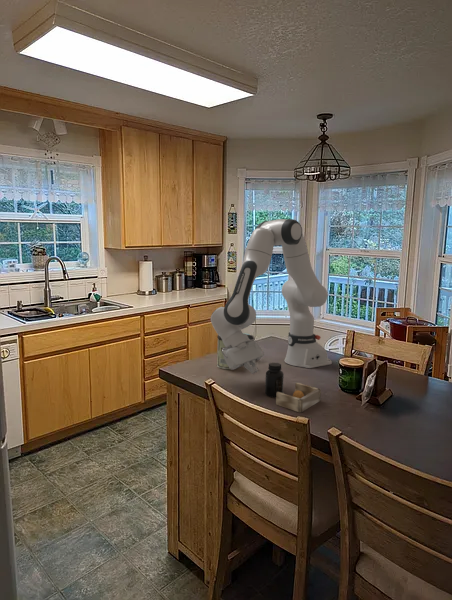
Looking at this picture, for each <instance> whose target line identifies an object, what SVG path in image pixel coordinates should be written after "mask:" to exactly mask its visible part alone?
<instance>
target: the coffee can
mask: <svg viewBox="0 0 452 600" xmlns="http://www.w3.org/2000/svg"><path fill="white" fill-rule="evenodd" d="M224 347H226V346H225V345H224V343H223V341H222V338H221V337H220V336H219V335H218V334H217V352H216V353H217V356H216V357H217V360H216V362H217V363H216V364H217V365H216V366H217V367H218V368H219V369H222V370H231V369H230V368H229V367H228V365H227V363H226V361H225V359H224V355H223V354H222V349H223V348H224Z"/></svg>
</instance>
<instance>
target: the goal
mask: <svg viewBox="0 0 452 600" xmlns="http://www.w3.org/2000/svg"><path fill="white" fill-rule="evenodd" d="M297 390H299V391H302V392H303V394H304V397H302V398H297V397H293V395H290V394H286V393H284V392H283V393H281V392H277V393H276V397H275V405H276V406H280V407H283V408H285V409H289V410H291V411H294V412H296V413H297V412H298V413H303V412H305V411H306V410H308V409H309V408H311V407H312V406H314V405H316V404H317V403H320V401H321V397H322V396H321V395H322V394H321V393H322V388H318V387H314V386H310V385H307V384H304V383H301V382H295V387H294V392H295V391H297Z"/></svg>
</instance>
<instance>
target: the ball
mask: <svg viewBox="0 0 452 600" xmlns="http://www.w3.org/2000/svg"><path fill="white" fill-rule="evenodd" d="M292 396H293V397H297V398H302V397H304V394H303V392H302V391H299V390H297V391H295V390H294V392H293V394H292Z"/></svg>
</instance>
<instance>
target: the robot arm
mask: <svg viewBox="0 0 452 600" xmlns="http://www.w3.org/2000/svg"><path fill="white" fill-rule="evenodd" d="M276 246H281V248H282V254H283V255H282V256H283V260H284V264H285V270H286V272H287V274H288V275H289V276H290V277H291V278H292V279H289V280H286V281H285V282H284V283H283V285H282V287H281V295H282V297H283V298H284V299H285V302H286V304H287V308H288V312H289V332H288V337H287V344H288V346H287V351H286V355H285V358H284V360H283V361H284V362H285V363H286V364H288V365H290V366H293V367H301V368H306V369H314V368H317V367H324V366H328V365H329V366H330V365H332V363H333V362H332V361H333V360H331V359H330V358H328V353H327V350H326V348H325V347H323V345H321V344H320V343H318V341H319V340H321V338H322V337H321V335H318V334H315V333H314V327H315V326H314V325H315V317H314V315H313V314H312V313H311V310H310V308H318V307H322V306H323V305H325V303H326V302H327V300H328V291H327V289H326V287H325V286H324V285H323V284H321V282H320V281H319V279H318V277H317V276H316V274H315V272H314V270H313V267H312V264H311V259H310V254H309V250H308V245H307V242H306V239H305V237H304V234H303V228H302V225H301V224H300V222H299V221H298V220H297V219H292V218H278V219H273V220H264V221H262V222H259V224H257V226H256V228H255V229H254V230H252V233H251V235H250V236H249V240H248V241H247V245H246V248H245V251H244V256H243V260H242V264H241V268H240V270H239V273H238V276H237V279H236V283H235V285H234V288H233V292H232V295H230V298H229V299H228V300H227V302H226V303H225V304H224V306H220V307H217V308H216V309H215V310H213V312H212V313H211V316H210V322H211V325H212V327H213V329H214V331H215V332H216V334H217V336H218V335H219V336H220V337H221V338H222V341H223V343H224V345H225V346H226V347H224V348H223V349H222V354H223V355H224V359H225V361H226V363H227V365H228V367H229V368H230V369H229V370H232V371H233V370H236V369H238V368H240V367H241V368H242V367H244V368H245V369H246V370H247V371H249V372H250V374H255V373H257V372H258V371H259V368H258V367H257V361H259V360H261V359H263V358H264V357H265V352H264V350H263V348H262V346H261V345H260V344H259V342H257V341H256V338H255V336H254V335H253V334H250V335H247V334H248V333H246V334H243V331H242V330H243V329H246V328H248V327H250V326H252V325H253V324H254V323H255V321H256V319H257V312H256V309H255V307H253V306H252V305H251V304H249V297H250V296H251V292H252V291H251V290H252V288H253V285H254V282H255V279H257V278H258V277H259V276H262V275H264V274H265V273H266V272H267V270H268V268H269V266H270V264H271V261H272V256H273V252H274V247H276ZM317 340H318V341H317Z"/></svg>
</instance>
